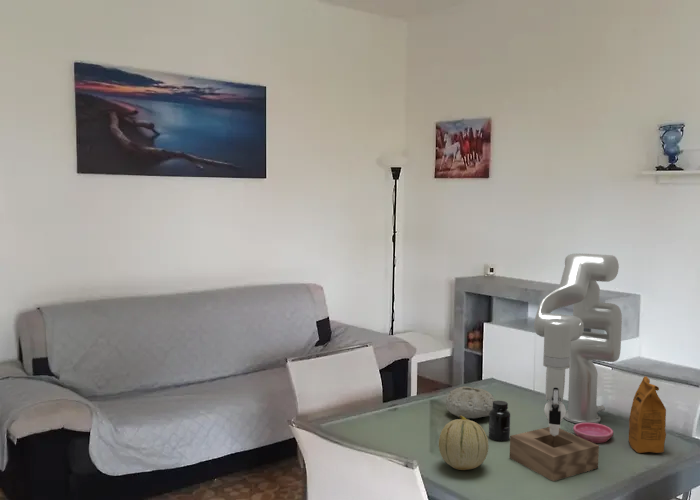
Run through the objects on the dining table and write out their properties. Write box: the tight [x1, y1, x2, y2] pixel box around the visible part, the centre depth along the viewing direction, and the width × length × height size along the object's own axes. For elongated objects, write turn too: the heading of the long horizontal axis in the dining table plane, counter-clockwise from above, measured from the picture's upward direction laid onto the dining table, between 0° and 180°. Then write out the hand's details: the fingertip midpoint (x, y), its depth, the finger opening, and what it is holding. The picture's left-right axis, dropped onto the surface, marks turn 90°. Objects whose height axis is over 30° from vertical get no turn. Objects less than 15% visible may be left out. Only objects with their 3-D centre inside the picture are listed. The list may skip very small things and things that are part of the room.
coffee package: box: [628, 376, 667, 454], centre depth 209 cm, size 10×12×22 cm
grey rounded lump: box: [445, 385, 496, 420], centre depth 238 cm, size 18×18×10 cm
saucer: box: [572, 423, 614, 444], centre depth 218 cm, size 12×12×3 cm
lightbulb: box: [544, 400, 567, 436], centre depth 197 cm, size 6×6×11 cm
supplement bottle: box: [488, 400, 511, 442], centre depth 217 cm, size 7×7×12 cm
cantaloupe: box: [438, 415, 489, 471], centre depth 194 cm, size 15×15×15 cm
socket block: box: [509, 426, 600, 482], centre depth 197 cm, size 18×18×7 cm
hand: (554, 419), depth 197 cm, fingers closed on lightbulb, 5 cm apart
